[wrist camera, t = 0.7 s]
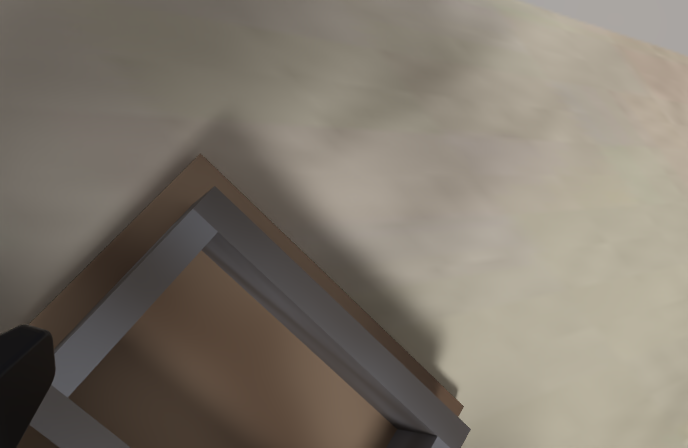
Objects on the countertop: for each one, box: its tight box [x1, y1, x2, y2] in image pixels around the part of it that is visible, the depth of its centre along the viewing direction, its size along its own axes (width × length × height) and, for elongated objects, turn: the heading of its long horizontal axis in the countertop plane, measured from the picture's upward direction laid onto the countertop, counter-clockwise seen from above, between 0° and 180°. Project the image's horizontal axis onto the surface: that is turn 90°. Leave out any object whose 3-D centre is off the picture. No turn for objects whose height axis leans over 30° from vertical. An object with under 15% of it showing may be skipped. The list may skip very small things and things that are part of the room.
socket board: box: [17, 154, 471, 448], centre depth 20 cm, size 11×14×3 cm
